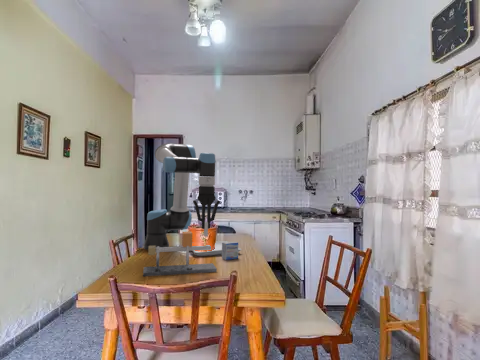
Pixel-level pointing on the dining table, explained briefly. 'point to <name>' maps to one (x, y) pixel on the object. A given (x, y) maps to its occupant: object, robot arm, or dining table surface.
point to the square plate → (214, 252)
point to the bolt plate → (179, 269)
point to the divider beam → (156, 250)
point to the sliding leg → (187, 244)
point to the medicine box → (230, 250)
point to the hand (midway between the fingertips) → (205, 235)
